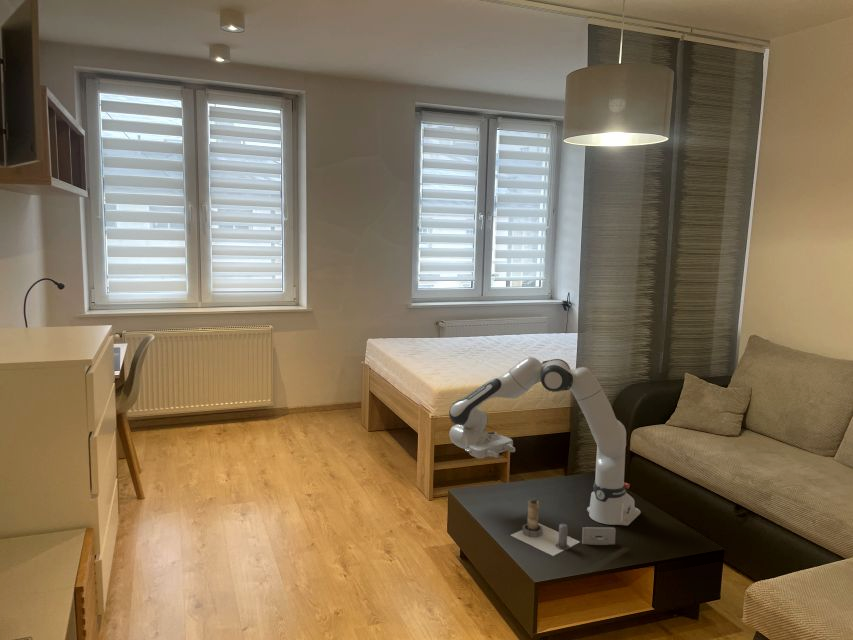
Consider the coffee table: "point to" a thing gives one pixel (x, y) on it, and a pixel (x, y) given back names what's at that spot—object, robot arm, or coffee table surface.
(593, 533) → the cassette
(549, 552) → the plate
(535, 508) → the wooden leg
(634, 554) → the coffee table surface
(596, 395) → the robot arm
